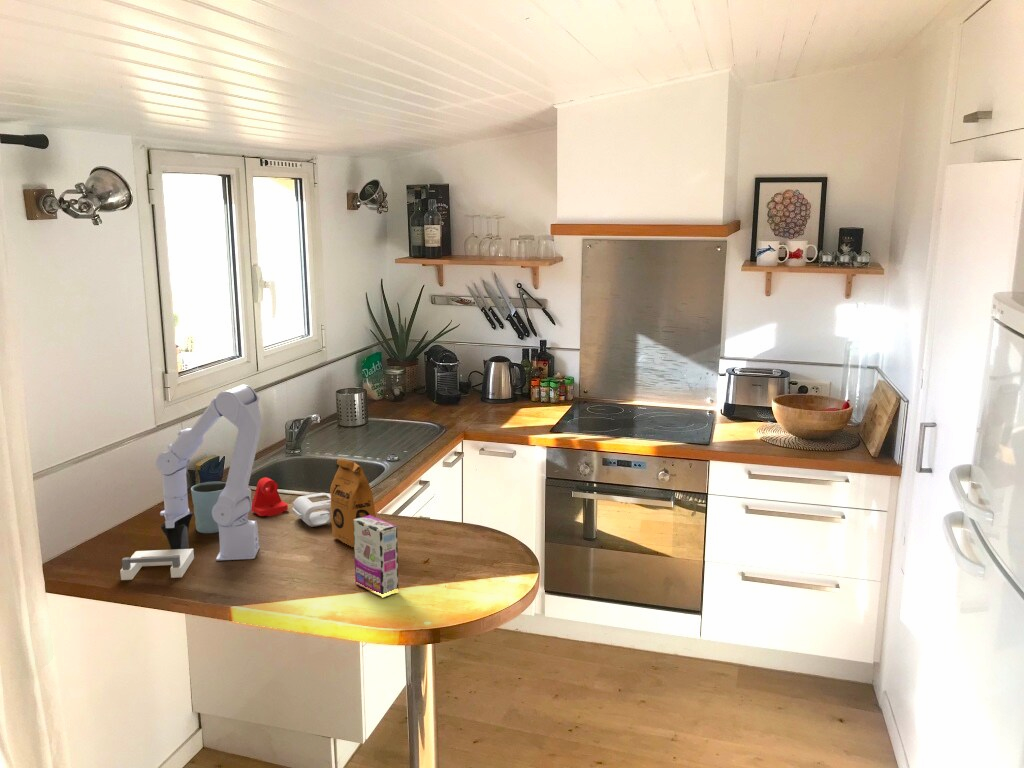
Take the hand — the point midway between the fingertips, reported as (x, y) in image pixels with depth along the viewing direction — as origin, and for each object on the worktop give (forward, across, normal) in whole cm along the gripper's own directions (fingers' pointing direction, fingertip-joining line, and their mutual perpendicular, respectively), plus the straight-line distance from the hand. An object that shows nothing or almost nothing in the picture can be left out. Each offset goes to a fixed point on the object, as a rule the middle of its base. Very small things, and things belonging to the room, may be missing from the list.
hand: (179, 544), depth 221 cm
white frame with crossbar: (+1, +12, -2) cm, 12 cm away
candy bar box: (+2, +30, +52) cm, 60 cm away
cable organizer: (+2, -17, +34) cm, 38 cm away
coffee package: (+2, -1, +45) cm, 45 cm away
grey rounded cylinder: (+1, 0, 0) cm, 1 cm away
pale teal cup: (+2, -16, +5) cm, 17 cm away
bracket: (+2, -27, +19) cm, 33 cm away
